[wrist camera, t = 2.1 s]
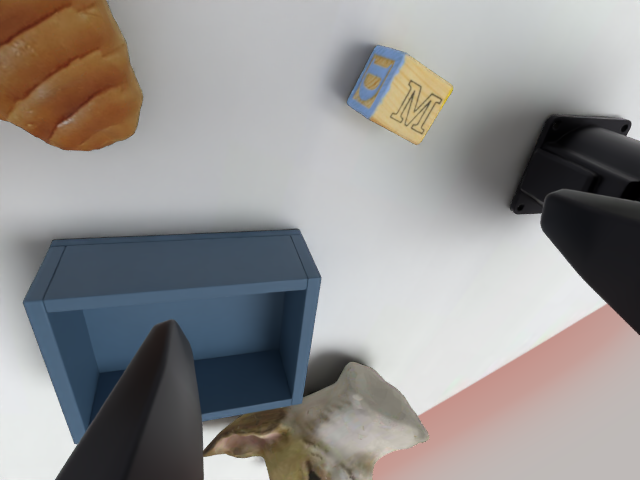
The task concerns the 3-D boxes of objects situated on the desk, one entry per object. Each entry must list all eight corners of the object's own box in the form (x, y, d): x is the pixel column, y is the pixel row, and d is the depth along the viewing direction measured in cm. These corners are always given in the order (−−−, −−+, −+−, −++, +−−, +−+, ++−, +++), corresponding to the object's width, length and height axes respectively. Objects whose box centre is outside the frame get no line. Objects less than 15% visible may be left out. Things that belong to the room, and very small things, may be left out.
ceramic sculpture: (465, 485, 28) (289, 572, 30) (414, 380, 34) (274, 457, 37) (410, 432, 21) (191, 548, 23) (361, 317, 28) (196, 414, 30)
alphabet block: (376, 41, 18) (406, 51, 16) (424, 73, 20) (457, 87, 17) (344, 102, 19) (367, 120, 17) (391, 128, 21) (418, 148, 19)
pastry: (187, 91, 17) (187, 117, 14) (59, 170, 18) (32, 211, 15) (-14, -196, 12) (-86, -256, 9) (-197, -72, 12) (-328, -87, 9)
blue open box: (299, 228, 23) (321, 277, 19) (286, 347, 28) (302, 404, 24) (52, 239, 19) (21, 302, 15) (90, 374, 24) (74, 444, 21)
